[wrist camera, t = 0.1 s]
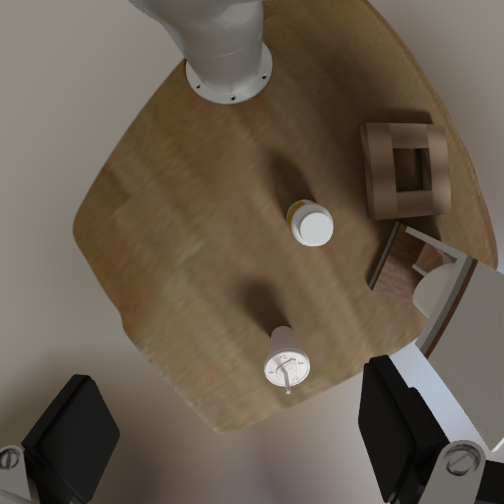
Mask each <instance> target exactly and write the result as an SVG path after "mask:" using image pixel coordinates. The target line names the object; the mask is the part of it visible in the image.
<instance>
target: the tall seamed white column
mask: <svg viewBox="0 0 504 504" xmlns="http://www.w3.org/2000/svg"><path fill="white" fill-rule="evenodd" d="M368 287H369V288H370V289H371V290H372V291H374V292H377V293H379V294H382V295H385V296H388V297H391V298H394V299H397V300H400V301H403V302H406V303H409V304H412V305H415V306H416V307H417V308H418V309H419V310H420V311H421V312H422V313H423V314H424V315H425V316H426V317H427V318H428V321H427V323H426V325H425V327H424V329H423V330H422V332H421V334H420V336H419V337H418V339H417V341H416V343H415V345H416V346H417V347H418V348H419V350H420V351H421V352H422V354H423V355H424V356H425V357H426V359H427V360H428V361H429V363H430V364H431V366H432V367H433V368H434V370H435V371H436V372H437V373H438V375H439V376H440V378H441V379H442V380H443V382H444V383H445V384H446V386H447V387H448V389H449V390H450V392H451V393H452V394H453V396H454V397H455V399H456V400H457V401H458V403H459V404H460V406H461V407H462V409H463V410H464V412H465V413H466V415H467V416H468V417H469V419H470V420H471V422H472V423H473V425H474V426H475V428H476V429H477V431H478V432H479V434H480V436H481V437H482V439H483V440H484V442H485V443H486V445H487V446H488V448H489V450H490V451H491V452H493V451H496V450H497V449H498V448H499V447H500V446H501V445H502V444H503V443H504V274H502V273H500V272H498V271H496V270H495V269H493V268H491V267H489V266H487V265H485V264H484V263H482V262H480V261H478V260H476V259H474V258H472V257H470V256H468V255H466V254H465V253H463V252H461V251H458V250H456V249H454V248H452V247H450V246H448V245H446V244H444V243H442V242H440V241H438V240H436V239H434V238H432V237H430V236H428V235H426V234H423V233H421V232H419V231H417V230H415V229H413V228H410V227H408V226H406V225H404V224H402V223H400V222H397V221H396V222H395V225H394V227H393V230H392V232H391V235H390V237H389V240H388V242H387V245H386V247H385V249H384V252H383V254H382V256H381V259H380V261H379V263H378V266H377V268H376V270H375V272H374V275H373V277H372V279H371V281H370V283H369V285H368Z"/></svg>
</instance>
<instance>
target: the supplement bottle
mask: <svg viewBox="0 0 504 504" xmlns="http://www.w3.org/2000/svg"><path fill="white" fill-rule="evenodd" d="M286 220H287V224H288V227H289V228H290V230H291V232H292V233H293V235H294V237H295V238H296V239H297V240H298V241H299V242H300V243H302V244H304V245H307V246H319V245H322V244H324V243H326V242H327V241H328V240H329V239H330V238H331V236H332V233H333V220H332V217H331V215H330V213H329V212H328V210H327V209H325V208H324V207H323V206H321V205H319V204H317V203H315V202H313V201H311V200H306V199H303V200H299V201H296V202H295V203H293V204H292V205H291V206H290V208H289V209H288V211H287V216H286Z"/></svg>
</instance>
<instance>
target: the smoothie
mask: <svg viewBox="0 0 504 504" xmlns="http://www.w3.org/2000/svg"><path fill="white" fill-rule="evenodd" d="M264 370H265V375H266V377H267V378H268V380H269V381H270V382H272V383H274V384H276V385H279V386H285V388H286V394H290V386H292V385H295V384H298V383H300V382H301V381H303V380H304V379H305V378H306V376H307V375H308V373H309V370H310V365H309V359H308V357H307V355H306V354H305V353H304V352H303V351H302V349H301V347H300V345H299V343H298V341H297V339H296V337H295V335H294V333H293V331H292V329H291V328H289V327H287V326H280V327H277V328H275V329H274V330H273V332H272V335H271V341H270V347H269V353H268V357H267V359H266V361H265V364H264Z"/></svg>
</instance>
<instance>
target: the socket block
mask: <svg viewBox="0 0 504 504" xmlns="http://www.w3.org/2000/svg"><path fill="white" fill-rule="evenodd" d="M359 127H360V134H361V142H362V150H363V159H364V168H365V178H366V190H367V204H368V217H369V218H371V219H373V220H375V221H376V220H385V219H395V218H406V217H416V216H426V215H437V214H448V213H451V193H450V174H449V161H448V151H447V142H446V133H445V126H444V125H432V124H412V123H365V124H362V125H360V126H359ZM393 149H420V155H421V166H422V179H423V190H406V191H396V179H395V168H394V157H393Z"/></svg>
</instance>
